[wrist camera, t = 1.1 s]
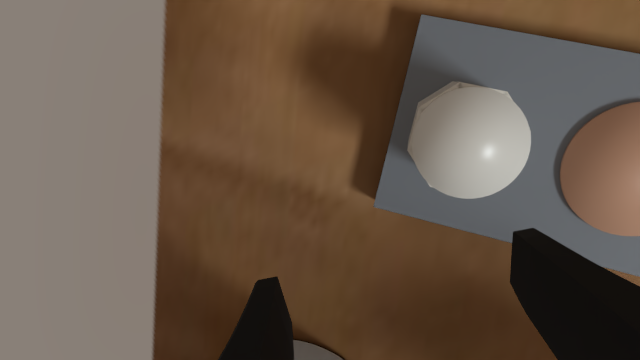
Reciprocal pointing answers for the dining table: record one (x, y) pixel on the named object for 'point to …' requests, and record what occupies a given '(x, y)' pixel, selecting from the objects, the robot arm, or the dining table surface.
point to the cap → (469, 140)
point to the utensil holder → (312, 352)
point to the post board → (533, 139)
